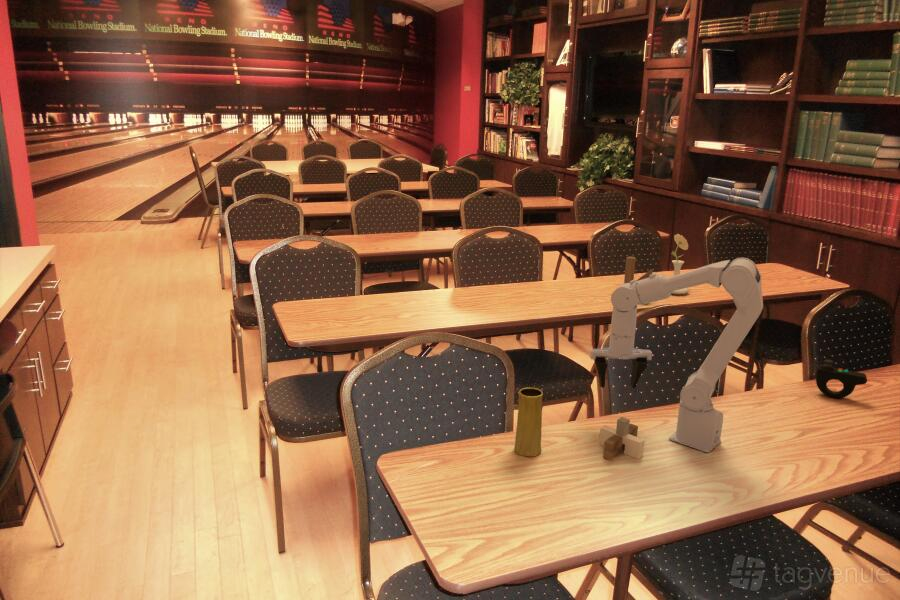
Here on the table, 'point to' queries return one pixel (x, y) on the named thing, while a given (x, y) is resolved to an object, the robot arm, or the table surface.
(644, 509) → the table surface
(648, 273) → the wooden block
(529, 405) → the vase
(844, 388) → the controller
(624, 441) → the burr puzzle piece
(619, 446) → the walnut slotted plate
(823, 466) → the table surface
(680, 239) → the flower in vase
